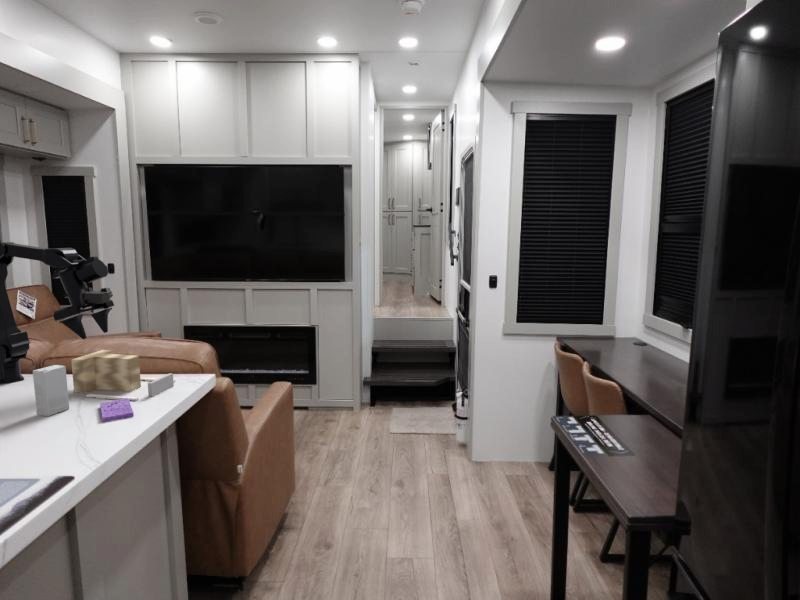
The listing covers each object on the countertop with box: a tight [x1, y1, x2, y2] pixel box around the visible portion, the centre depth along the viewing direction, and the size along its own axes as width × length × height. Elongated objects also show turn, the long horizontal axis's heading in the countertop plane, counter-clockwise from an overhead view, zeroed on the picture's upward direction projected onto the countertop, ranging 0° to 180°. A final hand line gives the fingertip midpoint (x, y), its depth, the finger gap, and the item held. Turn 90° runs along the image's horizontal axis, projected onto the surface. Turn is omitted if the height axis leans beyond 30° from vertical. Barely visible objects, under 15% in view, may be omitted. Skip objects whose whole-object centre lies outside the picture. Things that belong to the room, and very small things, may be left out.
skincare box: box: [32, 364, 70, 417], centre depth 128 cm, size 6×4×12 cm
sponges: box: [99, 398, 135, 423], centre depth 130 cm, size 7×13×2 cm, turn 34°
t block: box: [70, 349, 142, 394], centre depth 149 cm, size 16×12×10 cm
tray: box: [86, 372, 176, 402], centre depth 148 cm, size 18×18×4 cm
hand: (95, 335), depth 150 cm, fingers open, 9 cm apart
